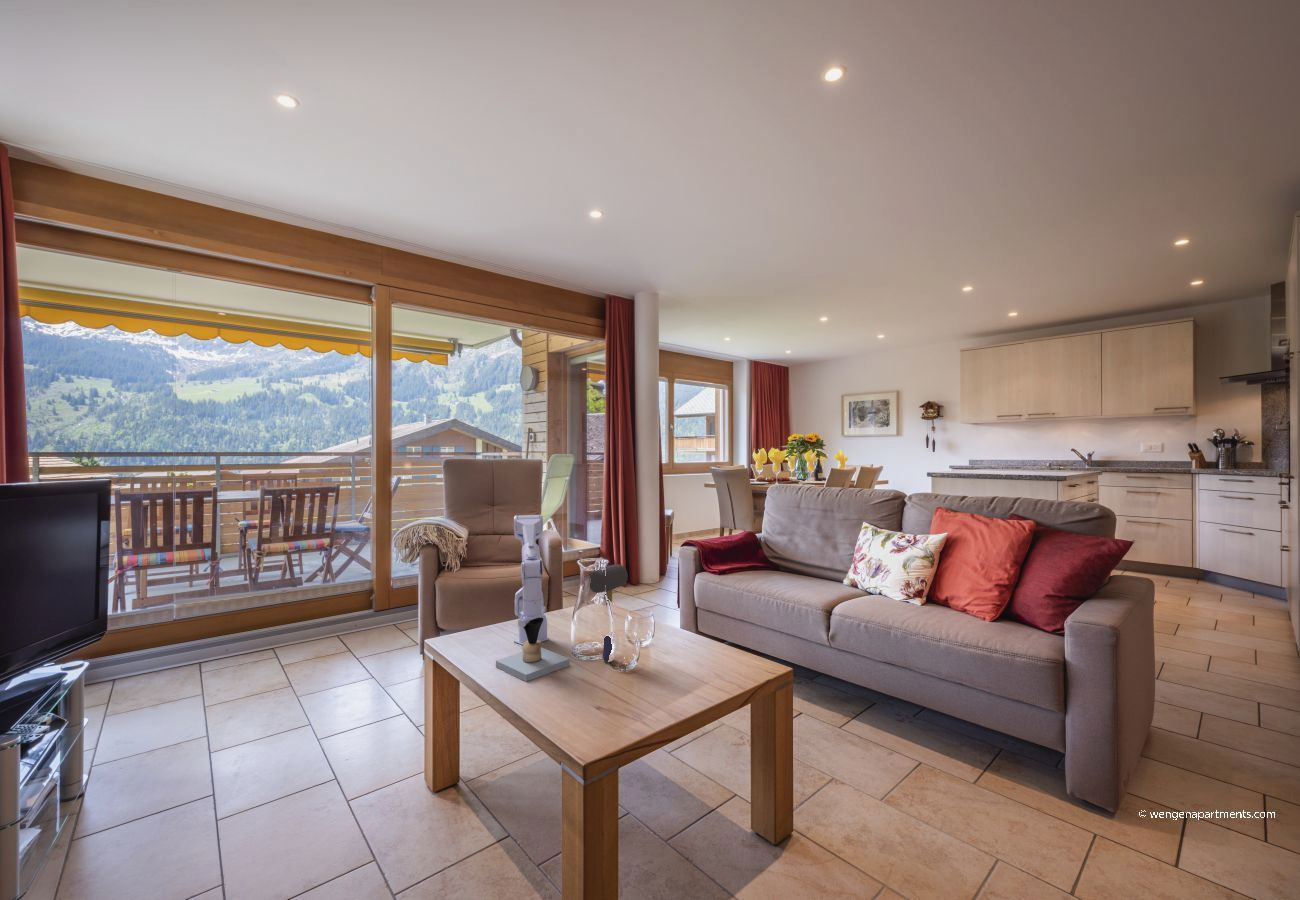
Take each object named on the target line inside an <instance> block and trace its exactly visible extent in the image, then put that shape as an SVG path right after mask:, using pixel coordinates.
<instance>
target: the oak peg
mask: <svg viewBox="0 0 1300 900" xmlns="http://www.w3.org/2000/svg"><path fill="white" fill-rule="evenodd" d="M541 647H542V642H541V641H539V640H537V642H536V643H535V644H531V643H529V642H528V641H525V642H524V643H523V645H522V652H523V662H525V663H536V662H539V661H540V660H541Z"/></svg>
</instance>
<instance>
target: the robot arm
mask: <svg viewBox="0 0 1300 900" xmlns="http://www.w3.org/2000/svg"><path fill="white" fill-rule="evenodd" d="M543 530H544V517H543V515H542V514H540V513H539V514H529V515H528V514H527V515H514V517H513V532H514V533H513V534H514V538H515V539H516V540H519V541H520V544H521V546H522V547H521V563H520V577H521V584H522V587H520V588H519V590H517V591H516V592H515V594H514V615H515V617H518V620H517V627H518V638H515V639H513V642H514V643H517V644H519V645H522V646H523V643H524V642H525V641H528V642H529V643H531V644H535V643H536V642H537V640H539V641H541V643H542V642H546V641H548V640H549V637H548V619H547V617H546V615H545V614H546V611H547V608H546V606H545V605H544V604H545V603H544V601H545V600H544V593H543V591H542V579H543V576H544V563H543V559H542V556H541V550H540V549H541V548H540V546H539V544H537V543H536V542H537V540H538V539H540V538H542V535H543Z"/></svg>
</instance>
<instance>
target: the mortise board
mask: <svg viewBox="0 0 1300 900" xmlns="http://www.w3.org/2000/svg"><path fill="white" fill-rule="evenodd" d="M569 666H570V658H569V657H567V656H564V655H561V654H559V653H556V652H554V651H551V650H550V649H549V650H548V649H546V648H544V647H542V646H541V660H540V661H539V662H536V663H525V662H523V651H521V652H520V651H519V652H517V653H514V654H511V655H507V656H506V657H505V656H504V657H502V658H499V659H497V660H495V668H496V669H499V670H501V671H503V672H505V673H507V674H510V675H511V676H513V677H516V678H518V679H520V680H522V681H524V682H529V681H531V680H534V679H538V678H540V677H542V676H544V675H548V674H550V673H553V672H556V671H558V670H560V669H563V668H566V667H569Z"/></svg>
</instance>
